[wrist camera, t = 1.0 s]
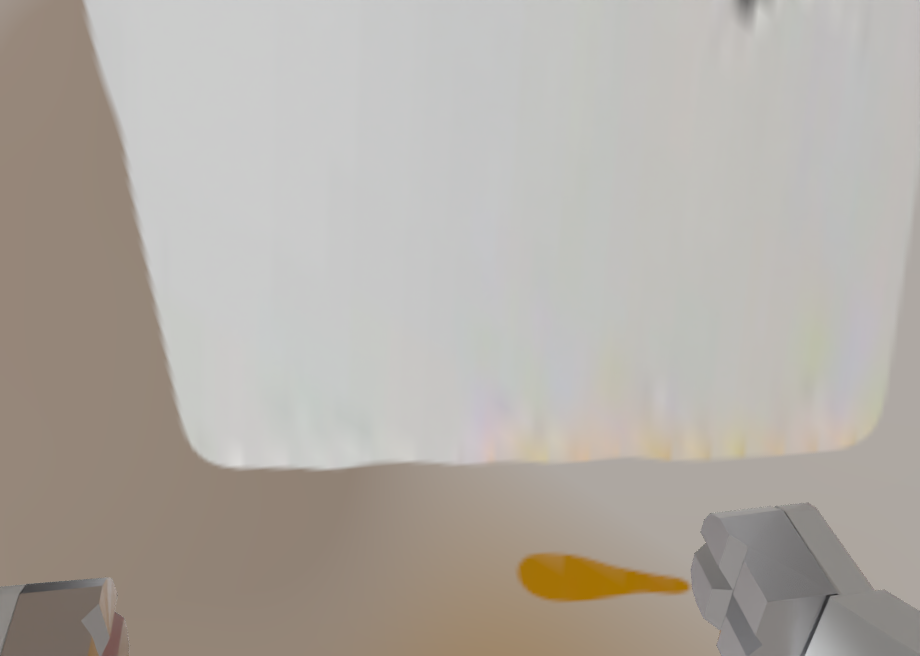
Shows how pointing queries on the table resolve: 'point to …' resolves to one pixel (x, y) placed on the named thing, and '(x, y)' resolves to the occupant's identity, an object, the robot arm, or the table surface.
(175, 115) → the table surface
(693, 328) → the table surface
